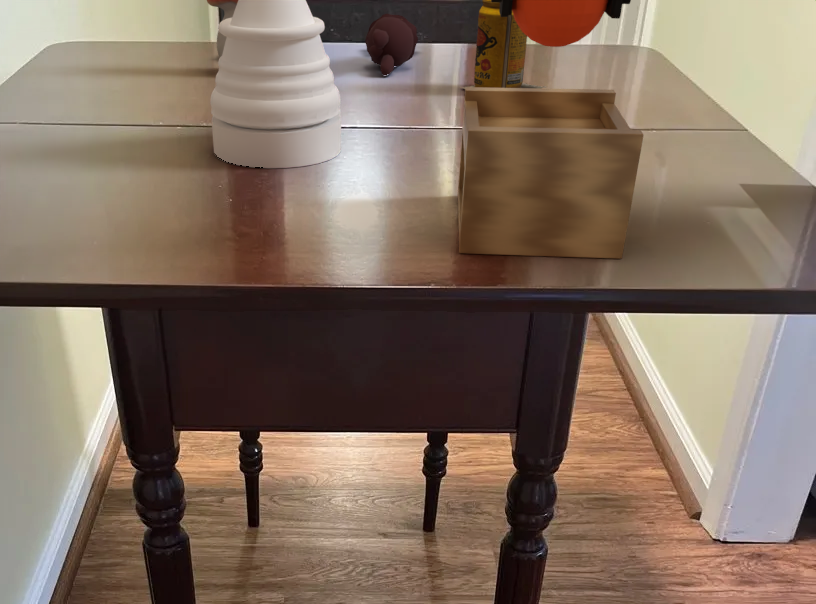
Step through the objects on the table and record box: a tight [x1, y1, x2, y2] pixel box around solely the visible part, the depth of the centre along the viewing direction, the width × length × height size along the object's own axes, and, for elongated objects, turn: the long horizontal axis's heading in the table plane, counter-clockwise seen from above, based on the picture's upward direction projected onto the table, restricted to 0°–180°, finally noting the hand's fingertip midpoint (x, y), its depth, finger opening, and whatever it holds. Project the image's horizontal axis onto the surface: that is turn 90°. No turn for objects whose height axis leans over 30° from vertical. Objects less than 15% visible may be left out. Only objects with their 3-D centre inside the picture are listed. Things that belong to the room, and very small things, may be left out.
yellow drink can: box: [458, 0, 547, 90], centre depth 113 cm, size 7×8×12 cm
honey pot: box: [209, 0, 342, 169], centre depth 88 cm, size 13×13×18 cm
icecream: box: [364, 13, 419, 76], centre depth 126 cm, size 7×7×15 cm
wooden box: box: [457, 86, 645, 260], centre depth 72 cm, size 12×14×9 cm
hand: (558, 12), depth 66 cm, fingers closed on clementine, 7 cm apart
